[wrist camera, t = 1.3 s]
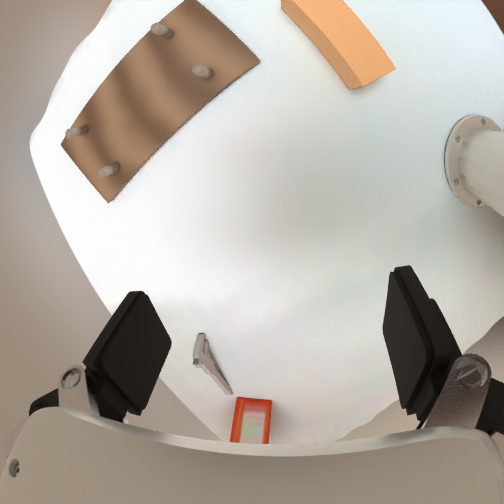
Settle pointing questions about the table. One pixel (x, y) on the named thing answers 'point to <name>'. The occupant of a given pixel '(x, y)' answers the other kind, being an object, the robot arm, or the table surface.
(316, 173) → the table surface
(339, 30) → the jaw block
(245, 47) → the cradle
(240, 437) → the file binder
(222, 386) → the caliper
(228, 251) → the table surface
